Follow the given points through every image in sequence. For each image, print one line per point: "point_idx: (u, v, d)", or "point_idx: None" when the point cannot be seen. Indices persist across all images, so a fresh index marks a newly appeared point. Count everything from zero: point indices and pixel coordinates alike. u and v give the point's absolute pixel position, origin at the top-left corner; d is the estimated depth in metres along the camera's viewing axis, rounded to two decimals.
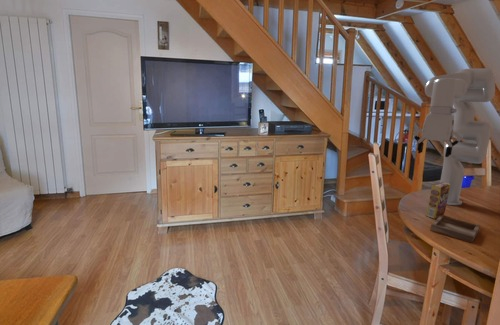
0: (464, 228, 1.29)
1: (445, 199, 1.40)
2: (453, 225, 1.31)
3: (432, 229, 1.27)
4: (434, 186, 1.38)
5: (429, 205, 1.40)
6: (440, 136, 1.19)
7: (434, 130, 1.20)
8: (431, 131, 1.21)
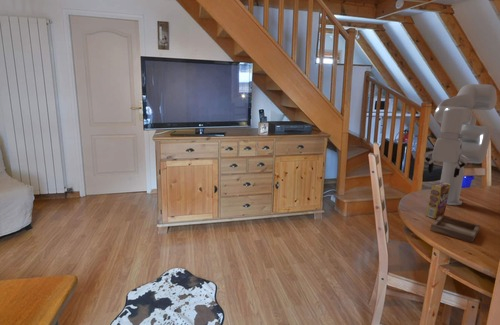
0: (464, 228, 1.29)
1: (445, 199, 1.40)
2: (453, 225, 1.31)
3: (432, 229, 1.27)
4: (434, 186, 1.38)
5: (429, 205, 1.40)
6: (449, 158, 1.33)
7: (443, 153, 1.34)
8: (441, 153, 1.35)
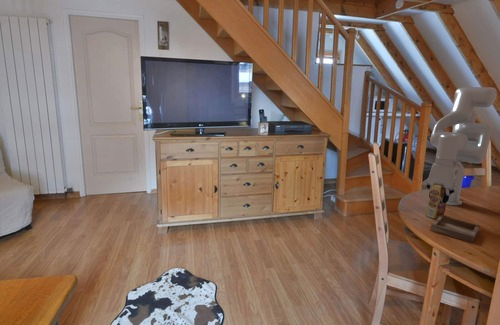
0: (464, 228, 1.29)
1: None
2: (453, 225, 1.31)
3: (432, 229, 1.27)
4: (434, 186, 1.38)
5: (429, 205, 1.40)
6: (444, 184, 1.36)
7: (439, 179, 1.37)
8: (436, 179, 1.38)
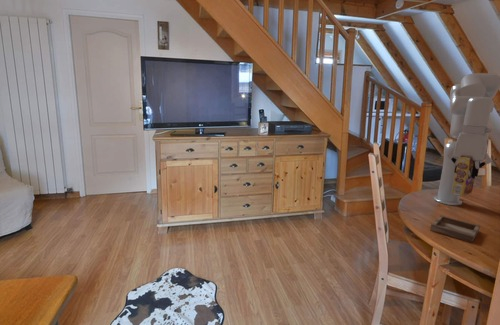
0: (464, 228, 1.29)
1: None
2: (453, 225, 1.31)
3: (432, 229, 1.27)
4: (461, 158, 1.19)
5: (455, 181, 1.21)
6: (474, 156, 1.17)
7: (467, 150, 1.18)
8: (464, 150, 1.19)
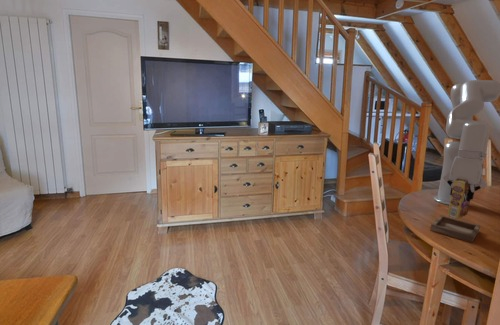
0: (464, 228, 1.29)
1: None
2: (453, 225, 1.31)
3: (432, 229, 1.27)
4: (457, 182, 1.21)
5: (451, 204, 1.23)
6: (469, 179, 1.19)
7: (463, 173, 1.21)
8: (459, 173, 1.21)
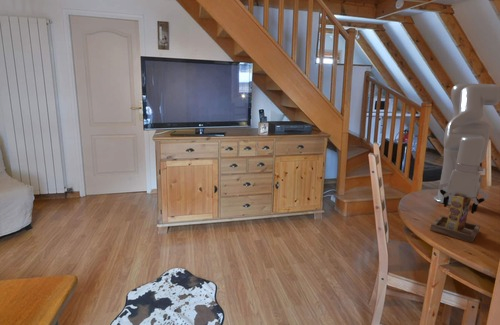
0: (464, 228, 1.29)
1: (466, 211, 1.25)
2: None
3: (432, 229, 1.27)
4: (455, 197, 1.22)
5: (449, 218, 1.25)
6: (467, 193, 1.21)
7: (460, 187, 1.22)
8: (457, 187, 1.22)
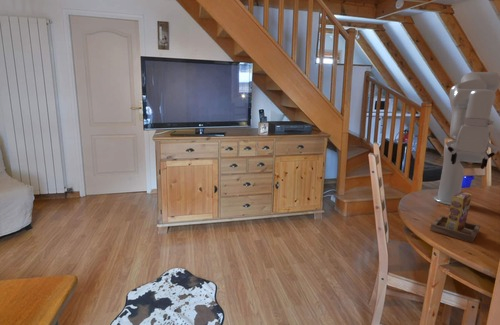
0: (464, 228, 1.29)
1: (466, 211, 1.25)
2: None
3: (432, 229, 1.27)
4: (455, 197, 1.22)
5: (449, 218, 1.25)
6: (476, 148, 1.18)
7: (469, 142, 1.19)
8: (466, 142, 1.20)
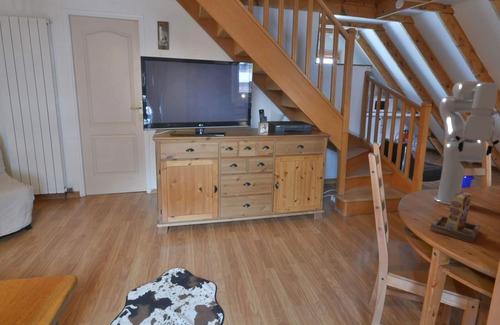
0: (464, 228, 1.29)
1: (466, 211, 1.25)
2: None
3: (432, 229, 1.27)
4: (455, 197, 1.22)
5: (449, 218, 1.25)
6: (481, 136, 1.28)
7: (475, 131, 1.30)
8: (472, 131, 1.30)
